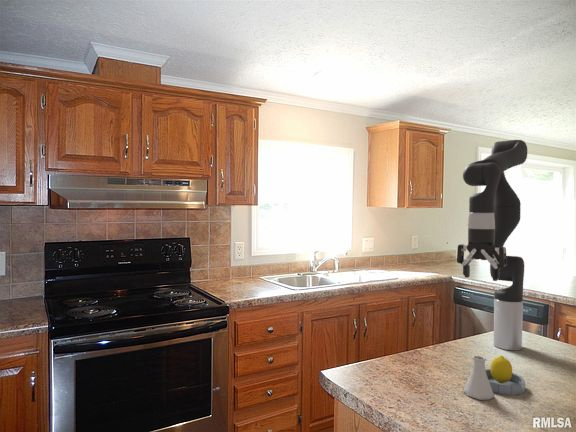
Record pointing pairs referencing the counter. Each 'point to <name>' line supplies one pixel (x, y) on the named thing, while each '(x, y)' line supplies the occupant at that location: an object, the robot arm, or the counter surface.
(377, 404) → the counter surface
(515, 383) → the dish
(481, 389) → the flask
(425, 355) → the counter surface
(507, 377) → the lemon
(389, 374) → the counter surface
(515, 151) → the robot arm
